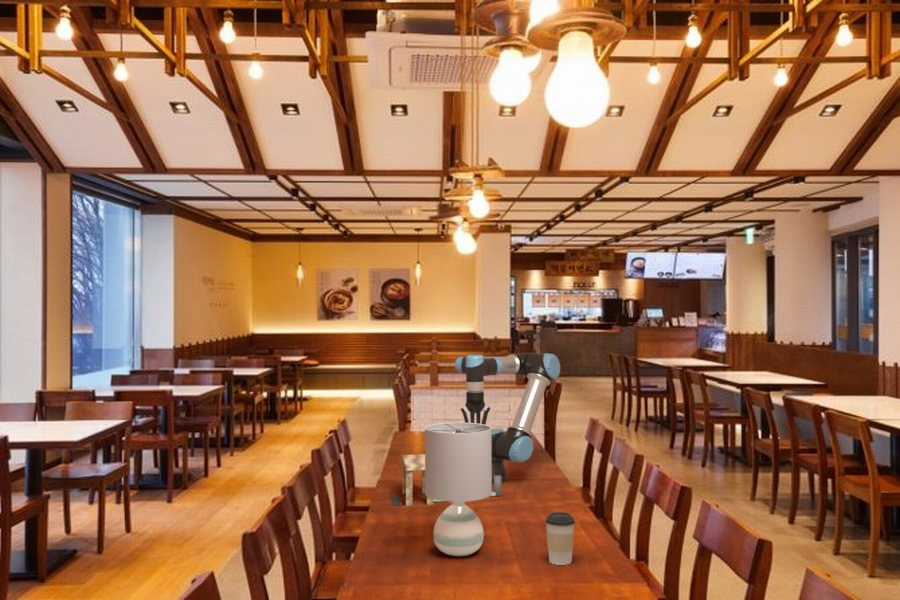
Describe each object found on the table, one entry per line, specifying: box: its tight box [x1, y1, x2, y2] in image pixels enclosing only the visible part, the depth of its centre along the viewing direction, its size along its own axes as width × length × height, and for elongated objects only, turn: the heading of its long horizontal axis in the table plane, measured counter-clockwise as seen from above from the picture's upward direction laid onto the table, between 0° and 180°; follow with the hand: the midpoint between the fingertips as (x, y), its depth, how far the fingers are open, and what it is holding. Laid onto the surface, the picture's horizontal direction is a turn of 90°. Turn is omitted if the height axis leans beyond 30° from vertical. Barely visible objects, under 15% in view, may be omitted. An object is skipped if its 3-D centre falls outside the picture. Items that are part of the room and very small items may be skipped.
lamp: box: [424, 422, 493, 557], centre depth 237 cm, size 22×22×40 cm
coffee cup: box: [545, 511, 576, 566], centre depth 227 cm, size 9×9×15 cm
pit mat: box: [389, 495, 403, 506], centre depth 301 cm, size 4×14×1 cm, turn 8°
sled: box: [433, 475, 502, 503], centre depth 307 cm, size 31×13×8 cm, turn 98°
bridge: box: [401, 453, 434, 507], centre depth 304 cm, size 11×24×16 cm, turn 8°
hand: (475, 446), depth 311 cm, fingers closed
